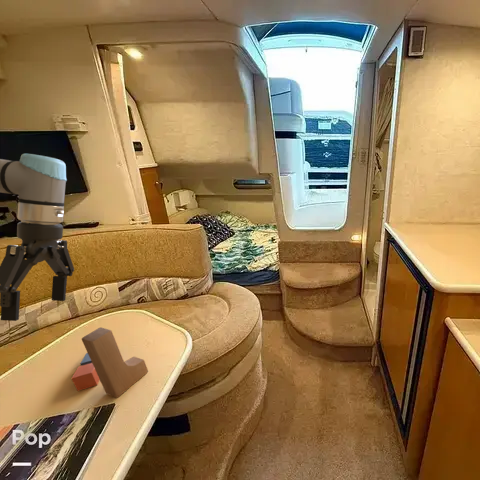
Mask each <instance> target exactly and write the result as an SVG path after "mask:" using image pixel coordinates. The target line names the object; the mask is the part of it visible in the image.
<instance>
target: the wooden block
mask: <svg viewBox="0 0 480 480" xmlns="http://www.w3.org/2000/svg"><path fill="white" fill-rule="evenodd" d="M81 341H82V342H81V343H82V344H83V346H84V348H85V351H86V353H88V355H89V357H90V359H91V361H92V364H93V366H94V368H95V370H96V372H97V375H98V377H99V379H100V380H99V382H100V383H101V386H102V387H103V390H104V392H105V394H106V395H109V396H111V397H113V398H117V399H118V398H119V397H121V395H123V394H124V393H125V392H126V391H127V390H129V388H131V387H133V385H135V384H136V383H137V382H138V381H139V380H140V379H141V378H143V377H144V376H145V375H147V374H148V372H149V369H148V367H147V364H146V361H145V360H144V358H139V357H137V356H132V357H130V358H129V359H126V360H125V361H124V358H123V356H122V354H121V351H120V348H119V346H118V342H117V341H116V338H115V335H114V333H113V330H111V329H109V328H105V327H98V328H97V329H95V330H93V331H92V332H90V333H88V334H85V336H83V337H82V338H81Z"/></svg>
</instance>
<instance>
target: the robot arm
mask: <svg viewBox="0 0 480 480" xmlns="http://www.w3.org/2000/svg"><path fill="white" fill-rule="evenodd" d="M19 158H20V159H19V160H9V159H3V158H0V194H1V193H2V194H11V195H18V204H17V215H16V216H17V218H16V219H18V221H19V222H18V223H17V226H16V237H17V238H18V239H20V240H21V244H20V245H16V244H8V245H7V246H6V247H5V248H6V249H5V255H4V257H3V259H2V261H1V263H0V321H9V322H16V321H19V319H20V303H21V290H17V289H18V288H19V287H20V286H21V284H22V283H23V281H24V280H25V278H26V277H27V275H28V274H29V273H30V271H31V270H32V268H33V267H34V266H36V265H38V264H39V263H43V262H44V261H45V262H46V264H47V265H48V266H49V268H50V269H51V270H52V272H53V273H54V274H55V275H53V276H52V286H51V301H52V302H53V301H55V302H64V301H66V299H67V297H66V295H67V286H68V285H67V284H68V283H67V282H68V277H72V276H73V273H74V272H75V266H74V264H73V260H72V258H71V254H70V252H69V248H68V241H67V240H66V239H64V240H63V239H62V238H63V235H64V234H63V233H64V225H63V224H62V223H63V222H64V214H65V211H64V210H65V196H66V195H65V194H66V185H67V184H66V183H67V181H68V179H67V166H66V163H65V161H63V160H61V159H58V158H56V157H51V156H45V155H41V154H40V155H39V154H34V153H22V154H21V156H20V157H19Z"/></svg>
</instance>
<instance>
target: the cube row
mask: <svg viewBox="0 0 480 480" xmlns="http://www.w3.org/2000/svg"><path fill="white" fill-rule="evenodd" d="M79 364H80V365H79V366H77V368H76V370H75V371H74V373H73V375H72V377H71V378H70V379H71V381H72V383H73V385H74V387H75V388H76V391H77V392H79V391H82V390H85V389H89V388H92V387H96V386H98V385H99V382H100V379H99V377H98V375H97V372H96V370H95V368H94V366H93V364H92V361H91V359H90V357H89V355H88V353H87V352H86V353H85V354H84V356H83V358H82V360H81V361H80V363H79Z"/></svg>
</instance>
